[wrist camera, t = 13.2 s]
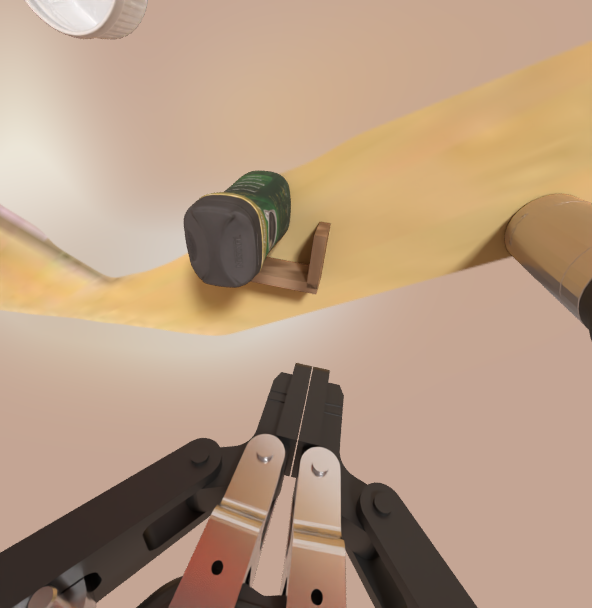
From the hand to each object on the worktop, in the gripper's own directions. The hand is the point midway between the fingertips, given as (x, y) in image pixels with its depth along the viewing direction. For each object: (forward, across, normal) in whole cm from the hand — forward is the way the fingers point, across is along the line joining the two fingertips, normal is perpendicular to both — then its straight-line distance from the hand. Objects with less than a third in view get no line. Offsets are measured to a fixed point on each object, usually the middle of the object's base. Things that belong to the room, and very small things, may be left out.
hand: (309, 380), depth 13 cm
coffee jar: (+35, +12, +3) cm, 37 cm away
